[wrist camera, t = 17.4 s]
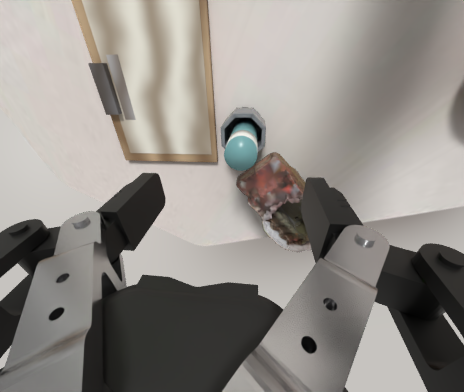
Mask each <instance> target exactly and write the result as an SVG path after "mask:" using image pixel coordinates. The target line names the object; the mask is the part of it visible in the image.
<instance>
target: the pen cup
mask: <svg viewBox="0 0 464 392" xmlns="http://www.w3.org/2000/svg"><path fill="white" fill-rule="evenodd" d="M242 119H248V120H251V121H252V122H253V123H254V124H255V125H256V128H257V144H258V152H259V151H260V150H261V149H262V148H263V147H264V146H265V132H266V126H265V121H264V119H263V118H262V117H261V116H260V114H259V113H258V112H257V111H256V110H255V109H254V108H248V107H242V108H236V109H235V110H234V111H233V112H232V113H231V114H230V116H229V117H228V118H227V119H226V120H225V122H224V123H223V125H222V126H221V142H222V147H224V148H225V149H226V145H227V143H228V140H229V138H230V136H231V133H232V131H233V128H234V126H235V124H236V123H237V122H238V121H240V120H242Z"/></svg>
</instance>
